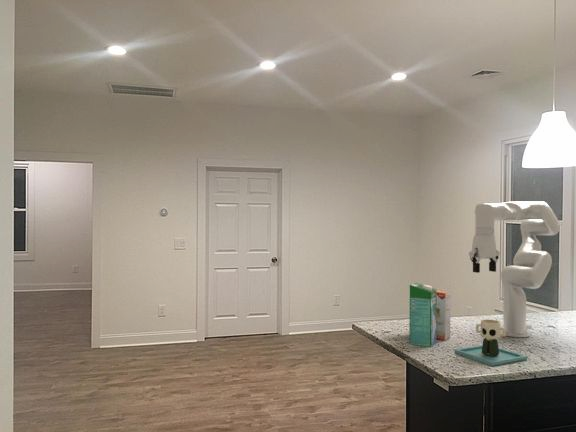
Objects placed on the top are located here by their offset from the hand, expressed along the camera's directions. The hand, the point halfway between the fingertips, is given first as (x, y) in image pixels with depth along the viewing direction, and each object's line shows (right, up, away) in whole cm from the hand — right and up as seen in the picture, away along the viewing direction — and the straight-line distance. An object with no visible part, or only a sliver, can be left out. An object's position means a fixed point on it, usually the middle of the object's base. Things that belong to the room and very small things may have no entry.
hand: (484, 271), depth 199 cm
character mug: (-7, -30, -21) cm, 37 cm away
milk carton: (-27, -30, -2) cm, 41 cm away
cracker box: (-20, -31, +8) cm, 37 cm away
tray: (-7, -30, -21) cm, 37 cm away
